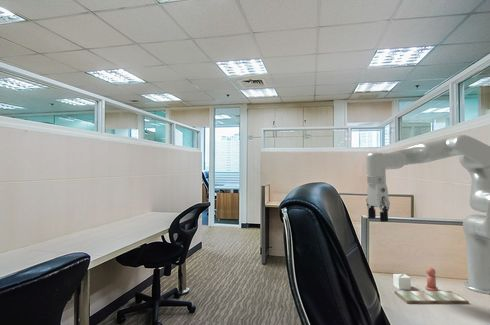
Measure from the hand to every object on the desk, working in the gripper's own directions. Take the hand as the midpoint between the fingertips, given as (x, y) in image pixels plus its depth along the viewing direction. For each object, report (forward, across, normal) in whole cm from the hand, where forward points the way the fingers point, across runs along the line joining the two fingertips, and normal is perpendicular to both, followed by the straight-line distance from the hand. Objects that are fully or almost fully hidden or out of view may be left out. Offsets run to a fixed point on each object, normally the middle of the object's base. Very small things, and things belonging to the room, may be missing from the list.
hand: (377, 219), depth 129 cm
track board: (+30, -12, -14) cm, 35 cm away
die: (+30, +1, -10) cm, 32 cm away
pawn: (+30, -4, -21) cm, 37 cm away
